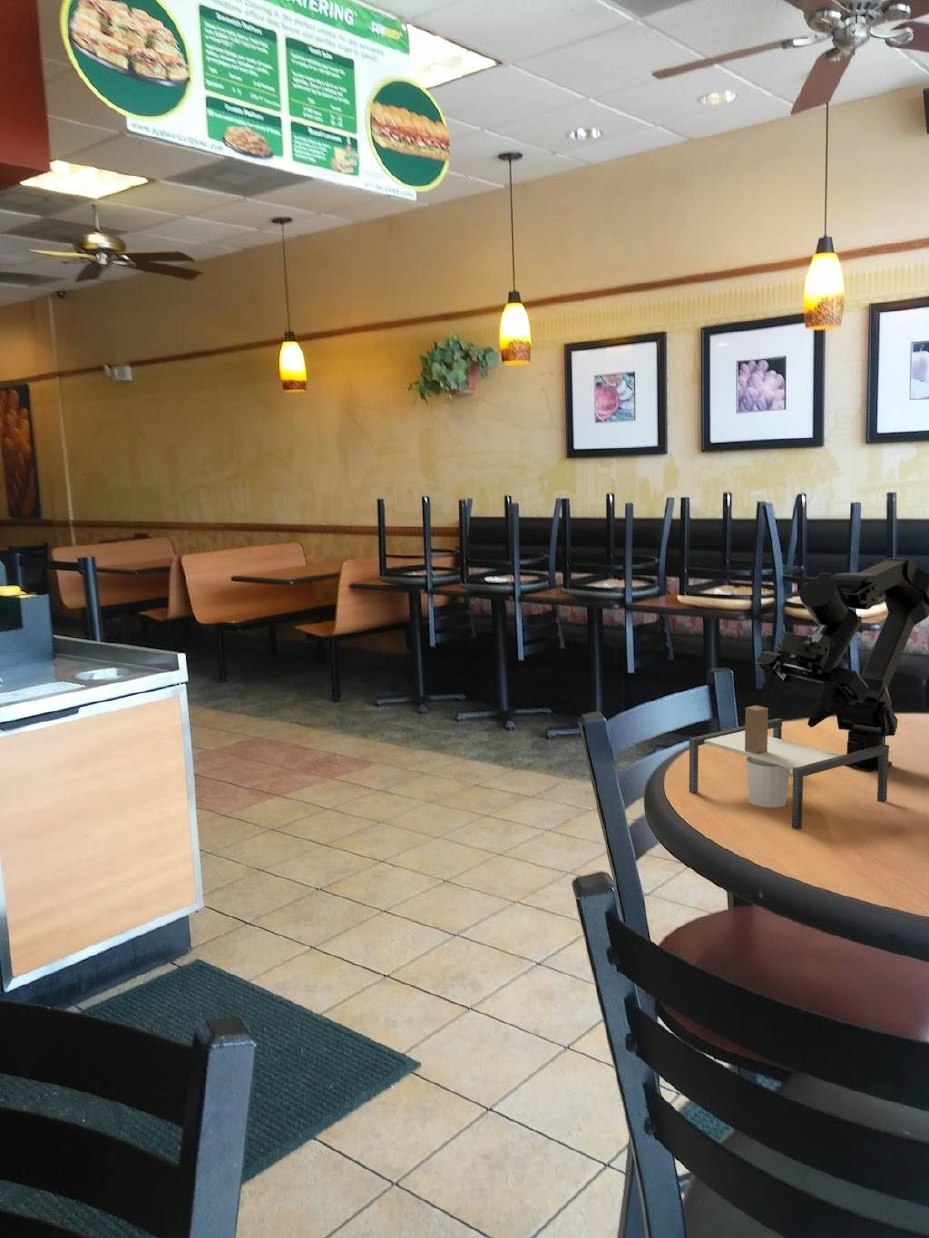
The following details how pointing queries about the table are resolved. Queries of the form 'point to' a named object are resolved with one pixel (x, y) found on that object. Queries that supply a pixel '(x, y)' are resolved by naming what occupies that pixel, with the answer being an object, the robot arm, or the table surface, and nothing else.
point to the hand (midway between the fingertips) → (786, 719)
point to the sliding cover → (767, 743)
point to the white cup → (767, 783)
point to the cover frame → (799, 771)
